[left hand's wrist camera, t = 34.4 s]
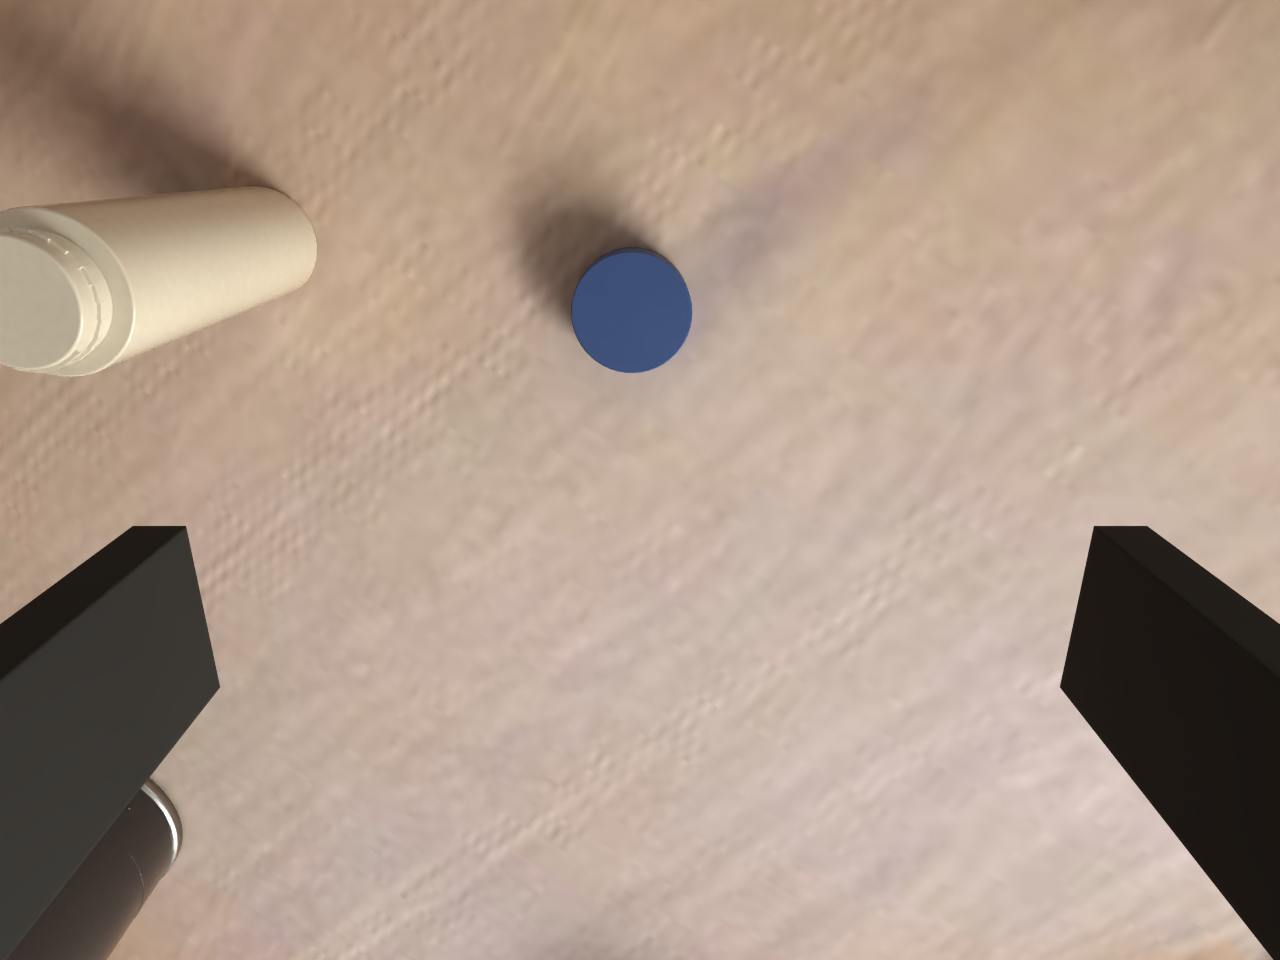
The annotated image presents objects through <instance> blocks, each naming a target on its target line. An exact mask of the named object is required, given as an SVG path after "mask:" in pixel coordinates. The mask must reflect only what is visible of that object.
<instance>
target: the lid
mask: <svg viewBox="0 0 1280 960" xmlns="http://www.w3.org/2000/svg"><path fill="white" fill-rule="evenodd" d="M571 317H572V324H573V328H574V332H575V334H576V337H577V339H578V341H579V342H580V344H581V346H582V347H583V349H584V350H585V351H586V352H587V353H588V354H589V355H590V356H591V357H592V358H593V359H594V360H595V361H597V362H598V363H600V364H601V365H603V366H605V367H607V368H609V369H612V370H615V371H619V372H625V373H638V372H644V371H649V370H652V369H654V368H657V367H659V366H661V365H663V364H664V363H666V362H667V361H668V360H670V359H671V358H672V357H673V356H674V355H675V354H676V353H677V352H678V351H679V350H680V348H681V347H682V345H683V344H684V342H685V340H686V338H687V336H688V333H689V330H690V326H691V321H692V304H691V299H690V295H689V292H688V289H687V286H686V283H685V281H684V279H683V277H682V276H681V274H680V273H679V271H678V270H677V269H676V268H675V266H674V265H673V264H672V263H671V262H669V261H668V260H667V259H666V258H664V257H663V256H661V255H659V254H657V253H655V252H653V251H650V250H647V249H642V248H622V249H617V250H614V251H611V252H609V253H606V254H605V255H603V256H601V257H600V258H598V259H597V260H595V261H594V262H593V263H592V264H591V265H590V266H589V267H588V268H587V270H586V271H585V272H584V274H583V275H582V277H581V279H580V281H579V283H578V285H577V288H576V290H575V292H574V296H573V300H572V307H571Z"/></svg>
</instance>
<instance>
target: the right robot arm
mask: <svg viewBox="0 0 1280 960" xmlns="http://www.w3.org/2000/svg"><path fill="white" fill-rule="evenodd" d="M182 838H183V835H182V825H181V821H180V818H179V815H178V813H177V811H176V809H175V807H174V805H173V803H172V802H171V800H170V799H169V798H168V796H167V795H166V794H165V793H164V792H163V791H162V789H161V788H160V787H159V786H157V785H156V784H155V783H154V782H153V781H152V780H150V779H149V778H148V780H147V781H146V782H145V784H144V785H143V786H142V787H141V789H140V790H139V791H138V792H137V794H136V795H135V796H134V798H133V799H132V800H131V801H130V803H129V804H128V805H127V807H126V808H125V809H124V810H123V812H122V813H121V814H120V815H119V817H118V818H117V819H116V821H115V822H114V823H113V824H112V826H111V827H110V828H109V830H108V831H107V832H106V833H105V835H104V836H103V837H102V838H101V840H100V841H99V842H98V844H97V845H96V846H95V847H94V849H93V850H92V851H91V852H90V854H89V855H88V856H87V858H86V859H85V860H84V861H83V863H82V864H81V865H80V867H79V868H78V869H77V870H76V872H75V873H74V874H73V875H72V877H71V878H70V879H69V881H68V882H67V883H66V884H65V886H64V887H63V888H62V890H61V891H60V892H59V893H58V895H57V896H56V897H55V898H54V900H53V901H52V902H51V904H50V905H49V906H48V907H47V909H46V910H45V911H44V912H43V914H42V915H41V916H40V918H39V919H38V920H37V921H36V923H35V924H34V925H33V927H32V928H31V929H30V930H29V932H28V933H27V934H26V935H25V937H24V938H23V939H22V941H21V942H20V943H19V944H18V946H17V947H16V948H15V950H14V951H13V952H12V953H11V955H10V956H9V957H8V958H7V960H107V959H108V957H109V956H110V954H111V953H112V951H113V950H114V948H115V947H116V945H117V944H118V942H119V941H120V939H121V938H122V936H123V935H124V933H125V932H126V930H127V929H128V927H129V926H130V924H131V923H132V921H133V920H134V918H135V917H136V916H137V914H138V912H139V911H140V909H141V908H142V906H143V905H144V903H145V902H146V900H147V899H148V897H149V896H150V894H151V893H152V891H153V890H154V888H155V887H156V885H157V883H158V882H159V880H160V879H161V878H162V877H163V876H164V875H165V874H166V873H167V872H168V870H169V869H170V867H171V866H172V864H173V863H174V861H175V860H176V858H177V856H178V854H179V852H180V849H181V845H182Z"/></svg>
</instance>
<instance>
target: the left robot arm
mask: <svg viewBox="0 0 1280 960" xmlns="http://www.w3.org/2000/svg"><path fill="white" fill-rule="evenodd" d="M219 688H220V685H219V680H218V675H217V671H216V666H215V661H214V656H213V652H212V647H211V642H210V638H209V633H208V628H207V623H206V619H205V614H204V609H203V604H202V600H201V595H200V590H199V586H198V581H197V576H196V571H195V567H194V562H193V557H192V552H191V548H190V543H189V538H188V534H187V529H186V526H132V527H131V528H130V529H128V530H127V531H126V532H124V533H123V534H122V535H120V536H119V537H118V538H116V539H115V540H113V541H112V542H111V543H109V544H108V545H107V546H105V547H104V548H103V549H101V550H100V551H99V552H97V553H96V554H95V555H93V556H92V557H91V558H89V559H88V560H86V561H85V562H84V563H82V564H81V565H80V566H78V567H77V568H76V569H74V570H73V571H72V572H70V573H69V574H68V575H66V576H65V577H63V578H62V579H61V580H59V581H58V582H57V583H55V584H54V585H53V586H51V587H50V588H49V589H47V590H46V591H45V592H43V593H42V594H40V595H39V596H38V597H36V598H35V599H34V600H32V601H31V602H30V603H28V604H27V605H26V606H24V607H23V608H22V609H20V610H19V611H17V612H16V613H15V614H13V615H12V616H11V617H9V618H8V619H7V620H5V621H4V622H3V623H1V624H0V960H7V958H8V957H9V956H10V955H11V953H12V952H13V951H14V950H15V948H16V947H17V946H18V944H19V943H20V942H21V941H22V939H23V938H24V937H25V935H26V934H27V933H28V932H29V930H30V929H31V928H32V927H33V925H34V924H35V923H36V921H37V920H38V919H39V918H40V916H41V915H42V914H43V912H44V911H45V910H46V909H47V907H48V906H49V905H50V904H51V902H52V901H53V900H54V898H55V897H56V896H57V895H58V893H59V892H60V891H61V890H62V888H63V887H64V886H65V884H66V883H67V882H68V881H69V879H70V878H71V877H72V875H73V874H74V873H75V872H76V870H77V869H78V868H79V867H80V865H81V864H82V863H83V861H84V860H85V859H86V858H87V856H88V855H89V854H90V852H91V851H92V850H93V849H94V847H95V846H96V845H97V844H98V842H99V841H100V840H101V838H102V837H103V836H104V835H105V833H106V832H107V831H108V830H109V828H110V827H111V826H112V824H113V823H114V822H115V821H116V819H117V818H118V817H119V815H120V814H121V813H122V812H123V810H124V809H125V808H126V807H127V805H128V804H129V803H130V801H131V800H132V799H133V798H134V796H135V795H136V794H137V792H138V791H139V790H140V789H141V787H142V786H143V785H144V784H145V782H146V781H147V780H148V778H149V777H150V776H151V775H152V773H153V772H154V771H155V770H156V768H157V767H158V766H159V764H160V763H161V762H162V761H163V759H164V758H165V757H166V755H167V754H168V753H169V752H170V750H171V749H172V748H173V747H174V745H175V744H176V743H177V741H178V740H179V739H180V738H181V736H182V735H183V734H184V733H185V731H186V730H187V729H188V727H189V726H190V725H191V724H192V722H193V721H194V720H195V718H196V717H197V716H198V715H199V713H200V712H201V711H202V710H203V708H204V707H205V706H206V704H207V703H208V702H209V701H210V699H211V698H212V697H213V695H214V694H215V693H216V692H217V690H218V689H219ZM1060 688H1061V689H1062V690H1063V692H1064V693H1065V694H1066V695H1067V697H1068V698H1069V699H1070V701H1071V702H1072V703H1073V704H1074V706H1075V707H1076V708H1077V710H1078V711H1079V712H1080V713H1081V715H1082V716H1083V717H1084V718H1085V720H1086V721H1087V722H1088V724H1089V725H1090V726H1091V727H1092V729H1093V730H1094V731H1095V733H1096V734H1097V735H1098V736H1099V738H1100V739H1101V740H1102V741H1103V743H1104V744H1105V745H1106V747H1107V748H1108V749H1109V750H1110V752H1111V753H1112V754H1113V755H1114V757H1115V758H1116V759H1117V761H1118V762H1119V763H1120V764H1121V766H1122V767H1123V768H1124V770H1125V771H1126V772H1127V773H1128V775H1129V776H1130V777H1131V778H1132V780H1133V781H1134V782H1135V784H1136V785H1137V786H1138V787H1139V789H1140V790H1141V791H1142V792H1143V794H1144V795H1145V796H1146V798H1147V799H1148V800H1149V801H1150V803H1151V804H1152V805H1153V807H1154V808H1155V809H1156V810H1157V812H1158V813H1159V814H1160V815H1161V817H1162V818H1163V819H1164V821H1165V822H1166V823H1167V824H1168V826H1169V827H1170V828H1171V830H1172V831H1173V832H1174V833H1175V835H1176V836H1177V837H1178V838H1179V840H1180V841H1181V842H1182V844H1183V845H1184V846H1185V847H1186V849H1187V850H1188V851H1189V852H1190V854H1191V855H1192V856H1193V858H1194V859H1195V860H1196V861H1197V863H1198V864H1199V865H1200V867H1201V868H1202V869H1203V870H1204V872H1205V873H1206V874H1207V875H1208V877H1209V878H1210V879H1211V881H1212V882H1213V883H1214V884H1215V886H1216V887H1217V888H1218V890H1219V891H1220V892H1221V893H1222V895H1223V896H1224V897H1225V898H1226V900H1227V901H1228V902H1229V904H1230V905H1231V906H1232V907H1233V909H1234V910H1235V911H1236V912H1237V914H1238V915H1239V916H1240V918H1241V919H1242V920H1243V921H1244V923H1245V924H1246V925H1247V927H1248V928H1249V929H1250V930H1251V932H1252V933H1253V934H1254V935H1255V937H1256V938H1257V939H1258V941H1259V942H1260V943H1261V944H1262V946H1263V947H1264V948H1265V950H1266V951H1267V952H1268V953H1269V955H1270V956H1271V957H1272V958H1273V960H1280V624H1279V623H1277V622H1276V621H1275V620H1273V619H1272V618H1271V617H1269V616H1268V615H1267V614H1265V613H1264V612H1263V611H1261V610H1260V609H1258V608H1257V607H1256V606H1254V605H1253V604H1252V603H1250V602H1249V601H1248V600H1246V599H1245V598H1244V597H1242V596H1241V595H1240V594H1238V593H1237V592H1235V591H1234V590H1233V589H1231V588H1230V587H1229V586H1227V585H1226V584H1225V583H1223V582H1222V581H1221V580H1219V579H1218V578H1217V577H1215V576H1214V575H1212V574H1211V573H1210V572H1208V571H1207V570H1206V569H1204V568H1203V567H1202V566H1200V565H1199V564H1198V563H1196V562H1195V561H1194V560H1192V559H1191V558H1189V557H1188V556H1187V555H1185V554H1184V553H1183V552H1181V551H1180V550H1179V549H1177V548H1176V547H1175V546H1173V545H1172V544H1171V543H1169V542H1168V541H1167V540H1165V539H1164V538H1162V537H1161V536H1160V535H1158V534H1157V533H1156V532H1154V531H1153V530H1152V529H1150V528H1149V527H1148V526H1094V529H1093V533H1092V538H1091V543H1090V548H1089V552H1088V557H1087V562H1086V567H1085V571H1084V576H1083V581H1082V586H1081V590H1080V595H1079V600H1078V604H1077V609H1076V614H1075V619H1074V623H1073V628H1072V633H1071V638H1070V642H1069V647H1068V652H1067V656H1066V661H1065V666H1064V671H1063V675H1062V680H1061V685H1060Z"/></svg>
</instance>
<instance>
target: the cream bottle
mask: <svg viewBox="0 0 1280 960" xmlns="http://www.w3.org/2000/svg"><path fill="white" fill-rule="evenodd" d="M316 258H317V243H316V237H315V234H314V230H313V228H312V226H311V223H310V221H309V220H308V218H307V216H306V215H305V213H304V212H303V211H302V210H301V208H300V207H299V206H298V205H297V204H296V203H295V202H293V201H292V200H291V199H290V198H288V197H287V196H285V195H284V194H282V193H280V192H278V191H275V190H273V189H270V188H266V187H260V186H247V187H236V188H225V189H214V190H203V191H191V192H180V193H169V194H158V195H147V196H136V197H125V198H114V199H103V200H92V201H81V202H69V203H58V204H47V205H36V206H25V207H17V208H11V209H8V210H5V211H2V212H0V364H3V365H5V366H8V367H11V368H13V369H14V370H18V371H25V372H32V373H39V372H43V373H47V374H52V375H56V376H66V377H74V376H84V375H89V374H92V373H95V372H98V371H101V370H103V369H106V368H108V367H111V366H113V365H116V364H118V363H121V362H123V361H125V360H128V359H130V358H133V357H135V356H138V355H140V354H143V353H145V352H148V351H150V350H152V349H155V348H157V347H160V346H162V345H165V344H167V343H170V342H172V341H175V340H177V339H179V338H182V337H184V336H187V335H189V334H192V333H194V332H197V331H199V330H202V329H204V328H207V327H209V326H211V325H214V324H216V323H219V322H221V321H224V320H226V319H229V318H231V317H234V316H236V315H238V314H241V313H243V312H246V311H248V310H251V309H253V308H256V307H258V306H261V305H263V304H265V303H268V302H270V301H273V300H275V299H278V298H280V297H283V296H285V295H288V294H290V293H292V292H294V291H296V290H297V289H299V288H300V287H301V286H302V285H303V284H304V283H305V282H306V281H307V280H308V279H309V277H310V275H311V274H312V272H313V269H314V267H315V263H316Z"/></svg>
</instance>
